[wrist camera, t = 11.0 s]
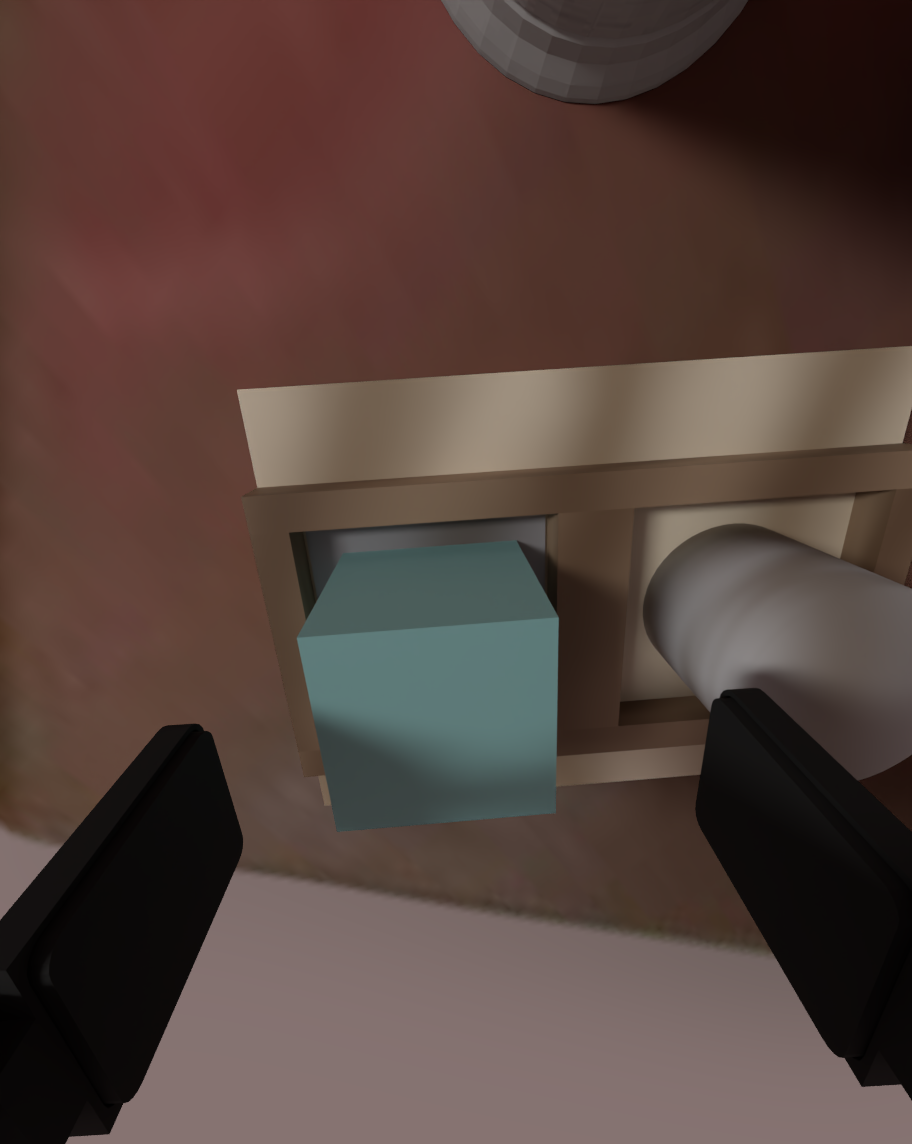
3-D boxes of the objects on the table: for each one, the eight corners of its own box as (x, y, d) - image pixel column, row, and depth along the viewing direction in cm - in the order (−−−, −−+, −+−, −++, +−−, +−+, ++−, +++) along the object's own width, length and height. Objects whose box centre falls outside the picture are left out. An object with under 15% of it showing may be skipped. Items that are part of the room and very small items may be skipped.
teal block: (516, 540, 14) (558, 617, 9) (518, 686, 16) (555, 812, 11) (343, 553, 14) (297, 637, 9) (366, 698, 16) (337, 832, 11)
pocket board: (878, 349, 14) (1222, 319, 8) (787, 737, 19) (954, 901, 13) (257, 389, 14) (114, 390, 7) (332, 774, 19) (284, 960, 13)
